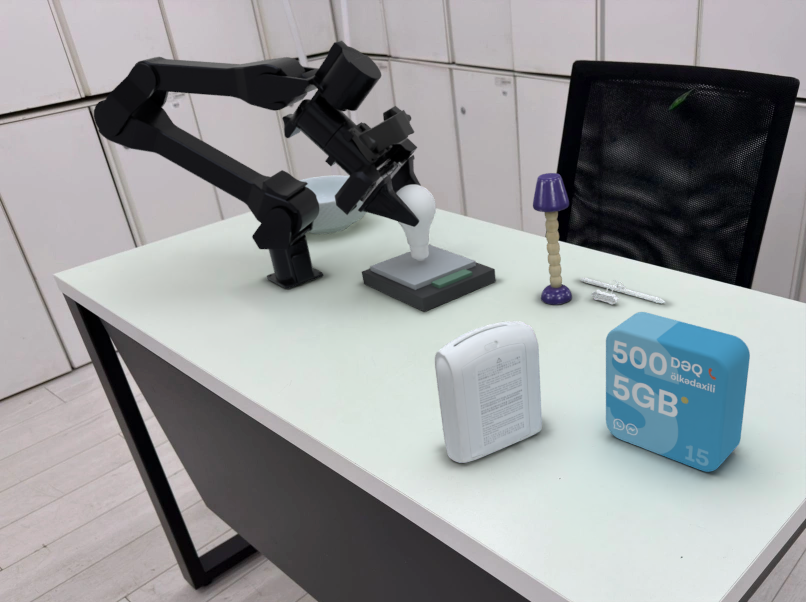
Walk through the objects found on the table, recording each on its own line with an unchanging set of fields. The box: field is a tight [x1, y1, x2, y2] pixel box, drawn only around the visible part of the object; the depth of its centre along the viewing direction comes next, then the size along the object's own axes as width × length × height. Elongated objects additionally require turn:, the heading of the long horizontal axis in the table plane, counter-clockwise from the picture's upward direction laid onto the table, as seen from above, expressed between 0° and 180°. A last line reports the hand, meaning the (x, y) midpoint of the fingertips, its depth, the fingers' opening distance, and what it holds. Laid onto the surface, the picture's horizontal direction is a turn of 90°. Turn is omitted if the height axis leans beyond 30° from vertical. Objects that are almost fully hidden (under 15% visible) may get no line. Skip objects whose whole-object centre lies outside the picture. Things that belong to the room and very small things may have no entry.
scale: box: [361, 243, 497, 312], centre depth 108 cm, size 15×13×3 cm
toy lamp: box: [532, 172, 573, 305], centre depth 97 cm, size 5×5×17 cm
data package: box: [605, 311, 751, 473], centre depth 68 cm, size 12×4×12 cm, turn 51°
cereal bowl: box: [298, 174, 368, 235], centre depth 132 cm, size 17×17×7 cm
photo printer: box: [434, 320, 543, 464], centre depth 70 cm, size 10×4×12 cm, turn 123°
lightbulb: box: [396, 184, 437, 261], centre depth 105 cm, size 6×6×11 cm
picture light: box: [579, 277, 666, 305], centre depth 100 cm, size 14×4×2 cm, turn 48°
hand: (424, 216), depth 104 cm, fingers closed on lightbulb, 6 cm apart
